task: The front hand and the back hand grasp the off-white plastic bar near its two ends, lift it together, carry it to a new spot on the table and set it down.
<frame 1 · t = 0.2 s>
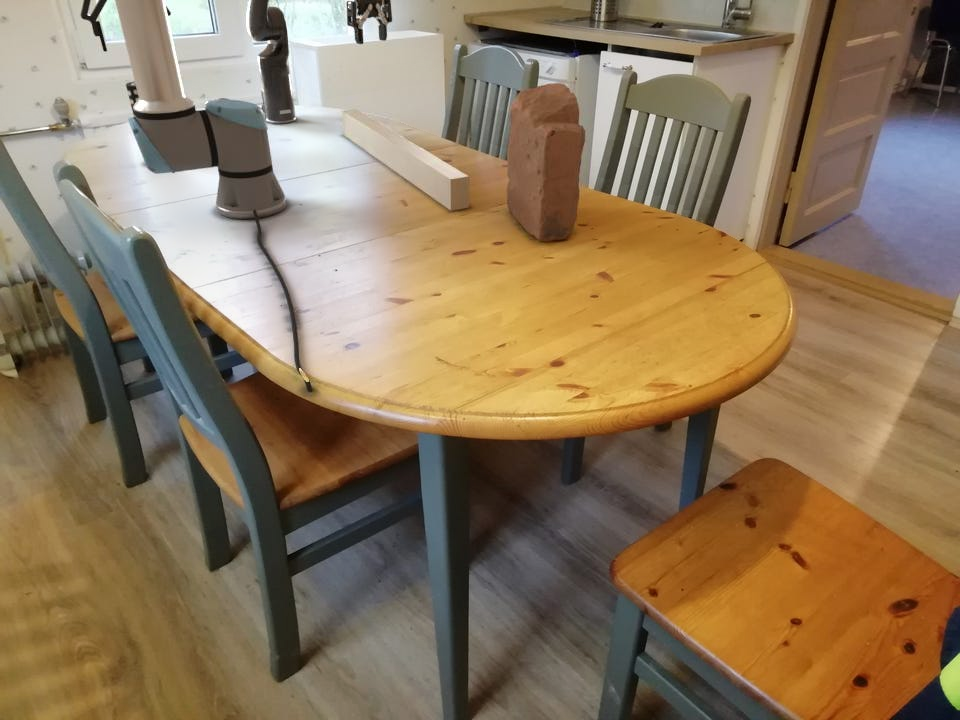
front hand: (134, 49, 174), 28 cm above the table, tool pointing down, fingers open, 13 cm apart
back hand: (371, 42, 189), 28 cm above the table, tool pointing down, fingers open, 8 cm apart
stone: (542, 223, 152), on the table
bar: (397, 166, 186), on the table
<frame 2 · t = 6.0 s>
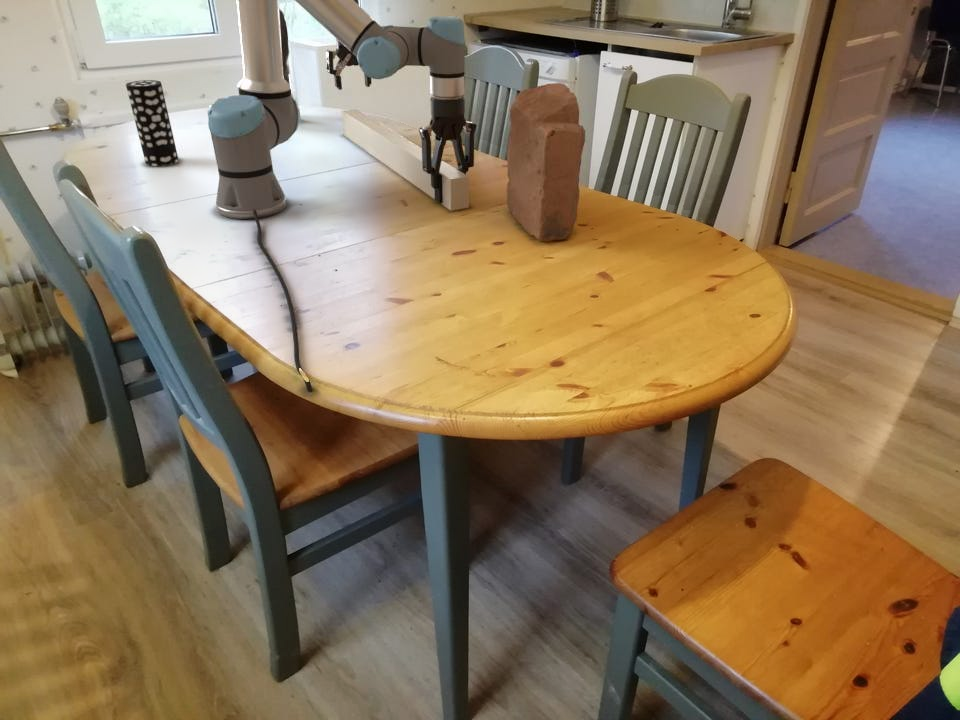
front hand: (448, 199, 163), 1 cm above the table, tool pointing down, fingers closed on bar, 5 cm apart
back hand: (353, 87, 200), 15 cm above the table, tool pointing down, fingers open, 8 cm apart
bar: (397, 166, 186), on the table, touching front hand
everything else where it was.
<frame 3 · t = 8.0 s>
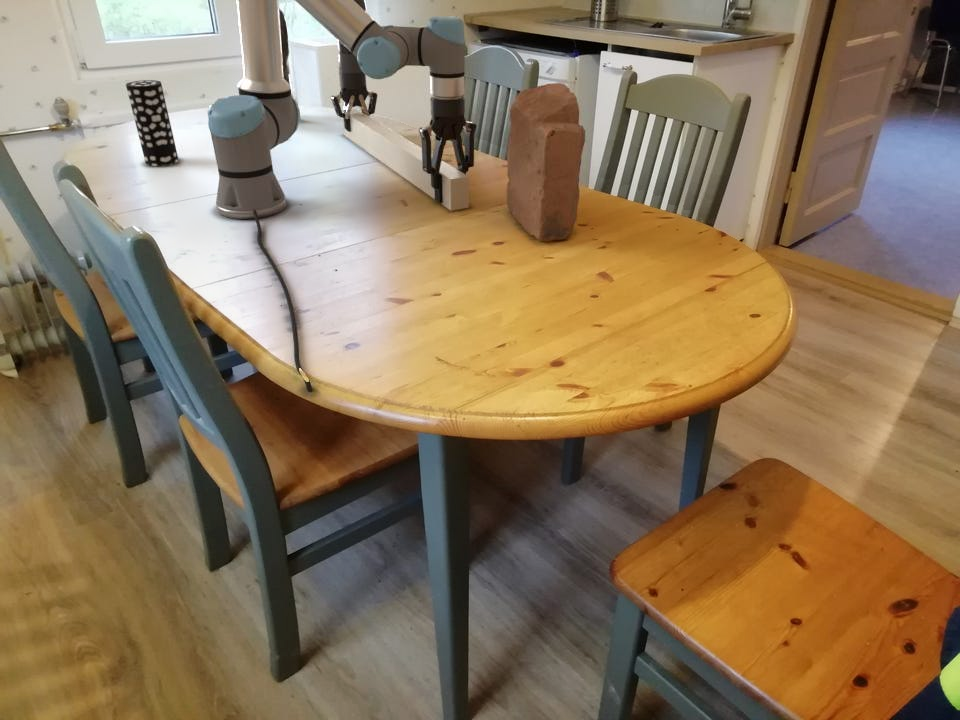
front hand: (449, 199, 163), 1 cm above the table, tool pointing down, fingers closed on bar, 5 cm apart
back hand: (357, 129, 207), 3 cm above the table, tool pointing down, fingers closed on bar, 4 cm apart
bar: (397, 166, 186), on the table, touching front hand, back hand
everything else where it was.
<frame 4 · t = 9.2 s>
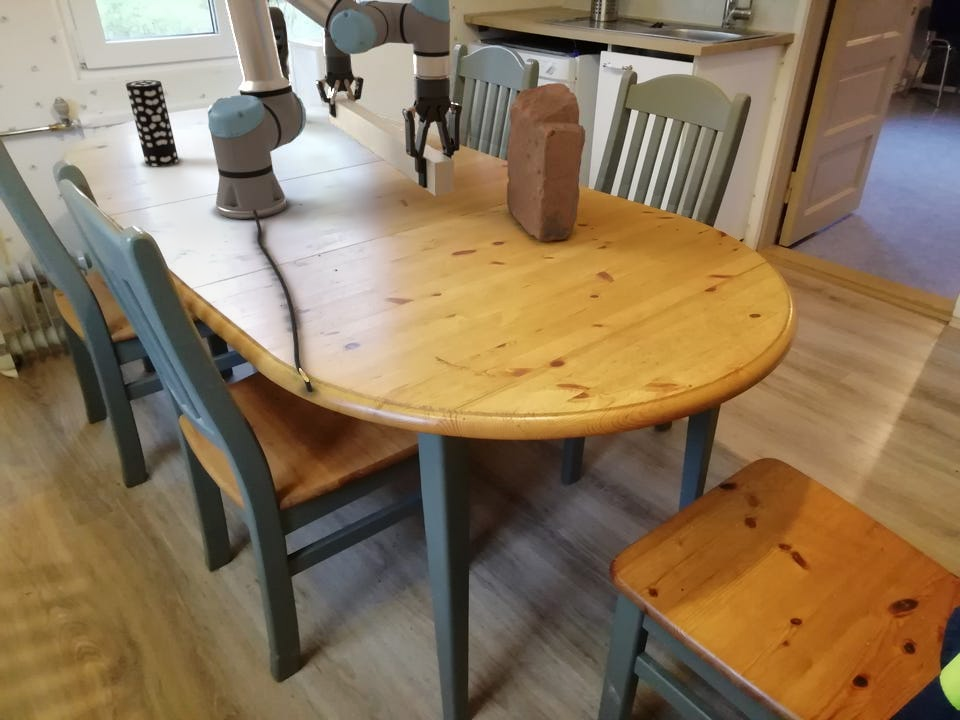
front hand: (433, 184, 157), 5 cm above the table, tool pointing down, fingers closed on bar, 5 cm apart
back hand: (342, 115, 201), 8 cm above the table, tool pointing down, fingers closed on bar, 4 cm apart
bar: (383, 152, 180), point 5 cm above the table, touching front hand, back hand
everything else where it was.
when the front hand's fingers open (2 cm above the table, at t = 10.7 s): bar drops 1 cm, on the table.
when the back hand's fingers open (4 cm above the table, at t = 10.9 s): bar stays where it is, on the table.
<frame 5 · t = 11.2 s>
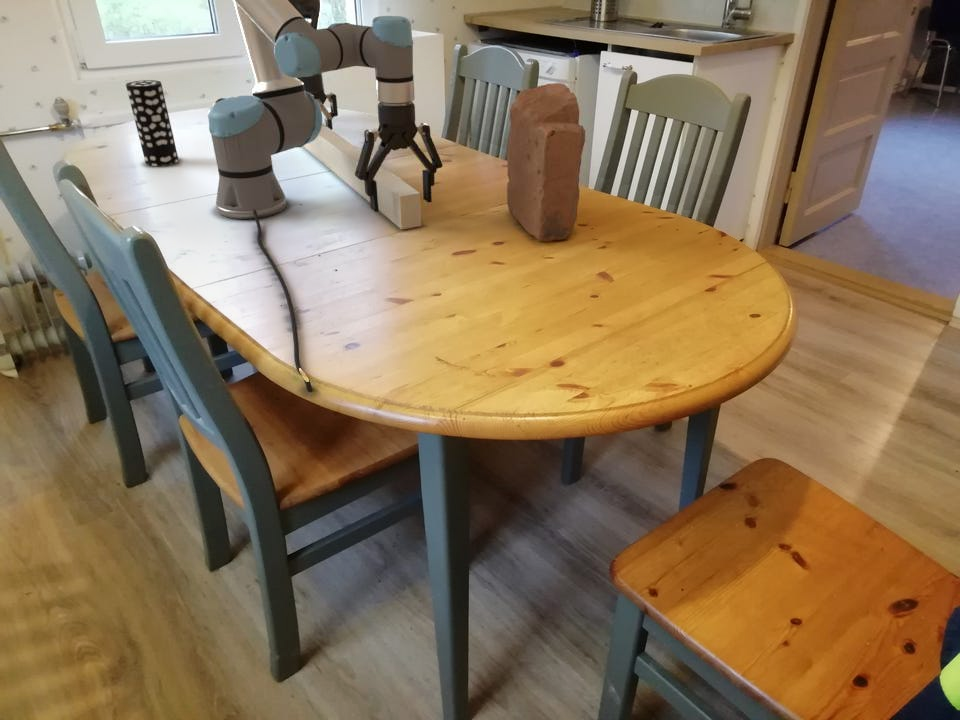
front hand: (401, 205, 151), 4 cm above the table, tool pointing down, fingers open, 12 cm apart
back hand: (315, 134, 195), 5 cm above the table, tool pointing down, fingers open, 7 cm apart
bar: (353, 180, 175), on the table
everything else where it was.
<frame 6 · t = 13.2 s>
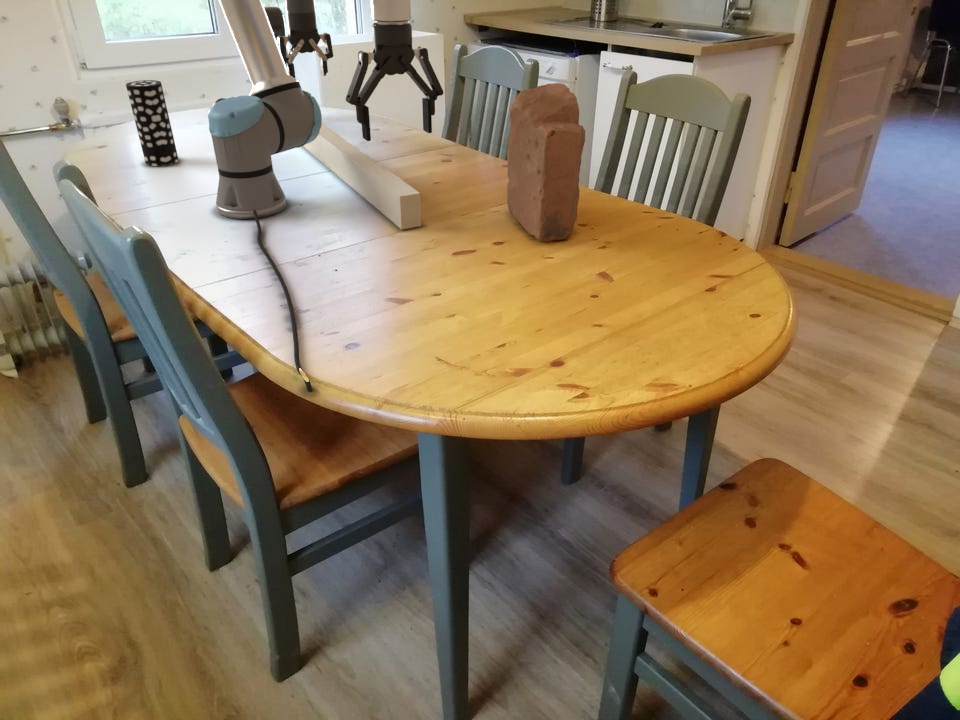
front hand: (397, 135, 143), 18 cm above the table, tool pointing down, fingers open, 13 cm apart
back hand: (308, 76, 187), 20 cm above the table, tool pointing down, fingers open, 8 cm apart
nothing on the table moved.
at the end: bar inside the target area (0.6 cm from its centre), on the table; bar tilted 0°; bar never tilted more than 1° during the clip; both hands held the bar at the same time; the front hand is holding nothing; the back hand is holding nothing; bar at rest at the end (0.0 cm/s) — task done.
